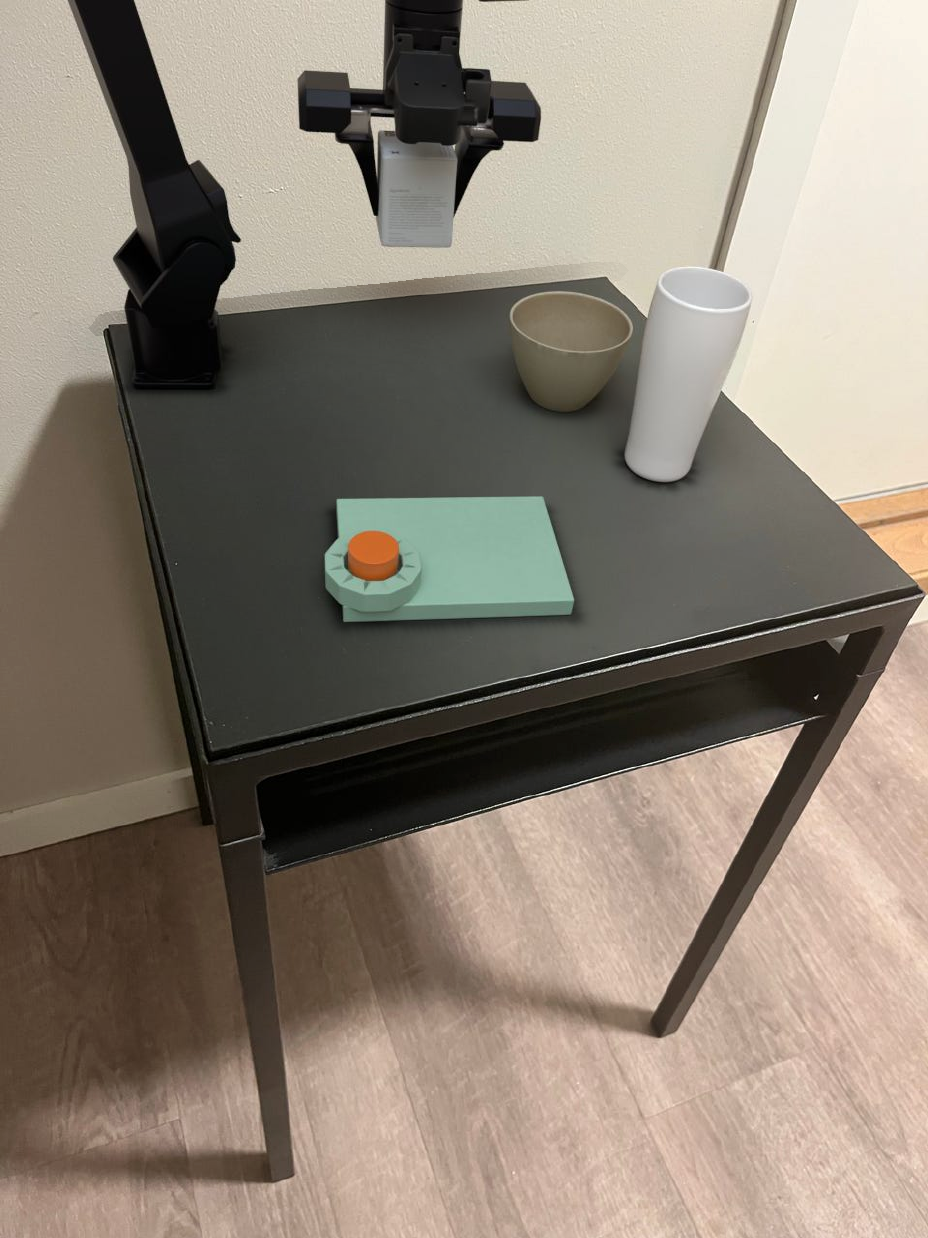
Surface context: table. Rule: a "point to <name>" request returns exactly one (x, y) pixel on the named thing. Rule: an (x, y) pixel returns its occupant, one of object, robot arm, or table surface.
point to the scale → (452, 559)
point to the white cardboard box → (415, 192)
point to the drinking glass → (683, 367)
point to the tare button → (373, 555)
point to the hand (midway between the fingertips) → (413, 215)
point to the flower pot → (567, 346)
